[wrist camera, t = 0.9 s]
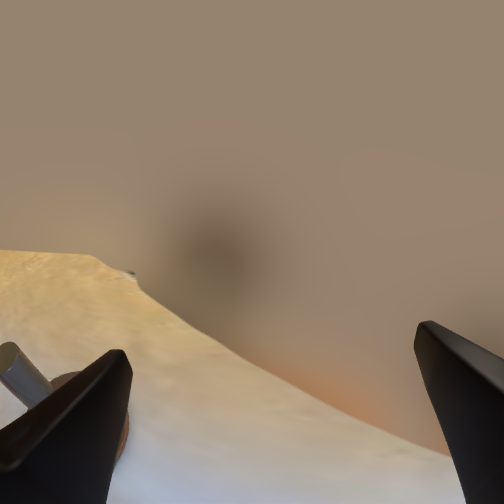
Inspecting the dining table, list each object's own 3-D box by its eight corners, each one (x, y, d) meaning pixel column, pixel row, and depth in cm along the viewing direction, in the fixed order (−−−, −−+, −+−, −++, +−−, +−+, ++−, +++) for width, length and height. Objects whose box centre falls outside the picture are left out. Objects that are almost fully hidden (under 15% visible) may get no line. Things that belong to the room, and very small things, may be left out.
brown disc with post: (104, 507, 16) (10, 461, 10) (14, 451, 19) (-63, 389, 12) (151, 394, 25) (97, 312, 19) (62, 366, 28) (7, 291, 21)
